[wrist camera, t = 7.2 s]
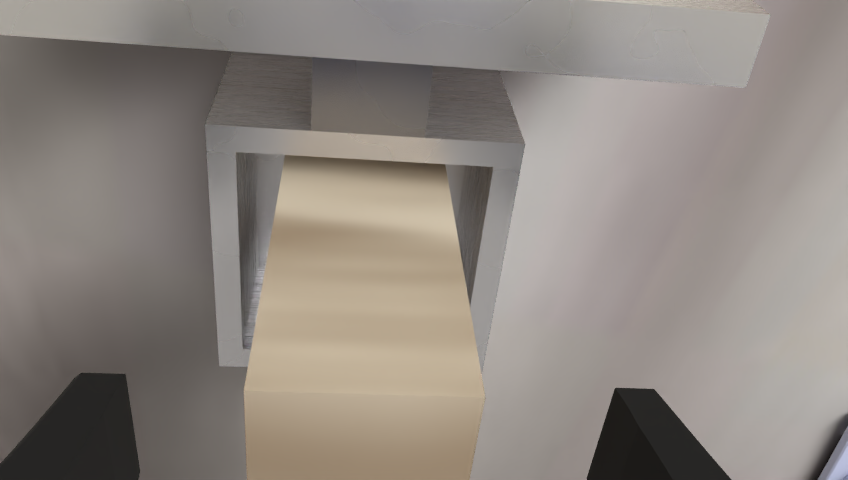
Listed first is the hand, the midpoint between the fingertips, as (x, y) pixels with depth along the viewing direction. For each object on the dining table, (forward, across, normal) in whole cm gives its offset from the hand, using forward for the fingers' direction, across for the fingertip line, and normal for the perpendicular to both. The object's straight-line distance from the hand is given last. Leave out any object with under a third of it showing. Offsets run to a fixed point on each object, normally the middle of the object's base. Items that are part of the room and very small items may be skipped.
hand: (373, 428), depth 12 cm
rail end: (+7, 0, 0) cm, 7 cm away
